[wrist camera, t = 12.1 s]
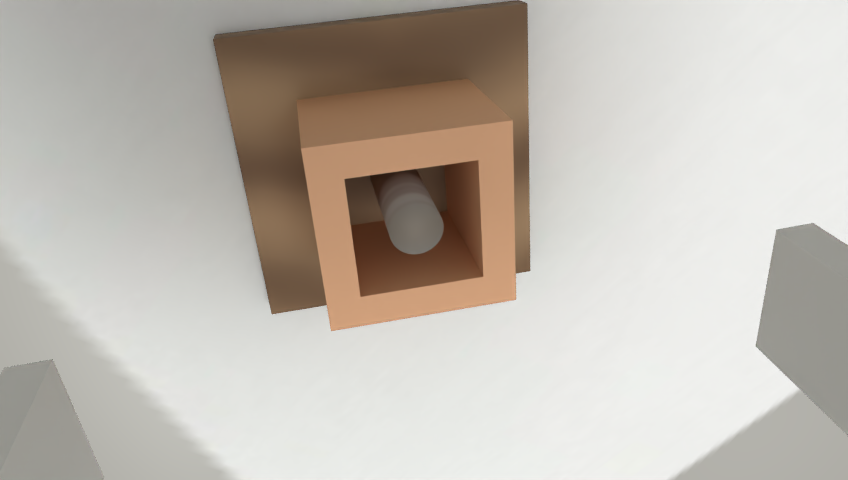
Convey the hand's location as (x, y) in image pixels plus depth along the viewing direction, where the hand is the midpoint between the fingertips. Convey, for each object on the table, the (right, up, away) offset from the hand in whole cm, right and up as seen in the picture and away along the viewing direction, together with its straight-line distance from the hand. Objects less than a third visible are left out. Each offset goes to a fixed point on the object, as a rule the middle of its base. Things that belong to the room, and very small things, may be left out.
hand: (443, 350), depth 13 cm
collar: (-2, +5, +21) cm, 22 cm away
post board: (-2, +6, +22) cm, 23 cm away
